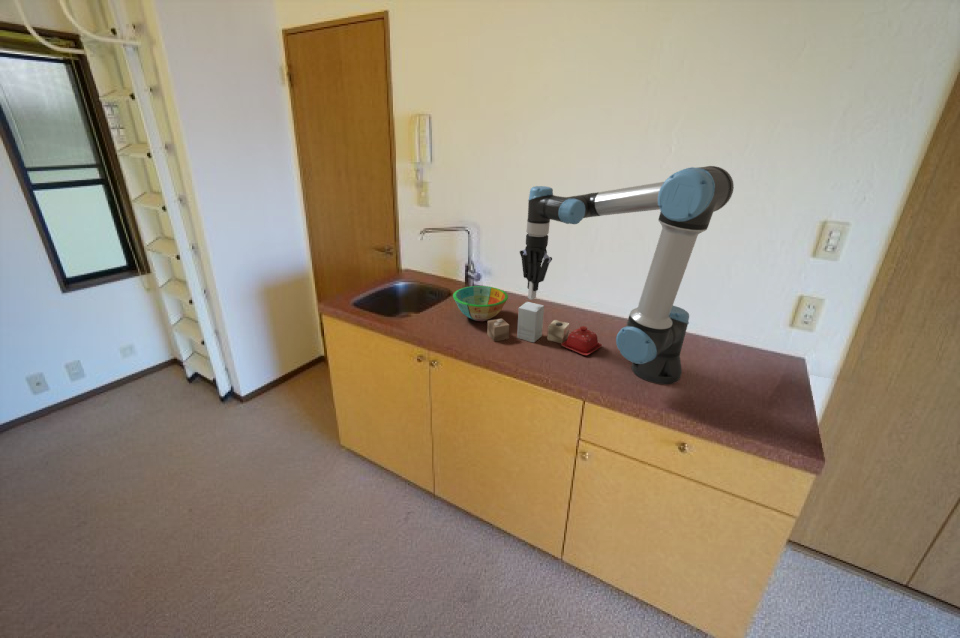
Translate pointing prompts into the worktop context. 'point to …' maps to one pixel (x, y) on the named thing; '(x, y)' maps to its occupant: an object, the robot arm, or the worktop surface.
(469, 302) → the bowl
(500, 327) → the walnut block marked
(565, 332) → the beech block marked
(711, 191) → the robot arm
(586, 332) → the butter dish
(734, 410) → the worktop surface
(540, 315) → the supplement box
